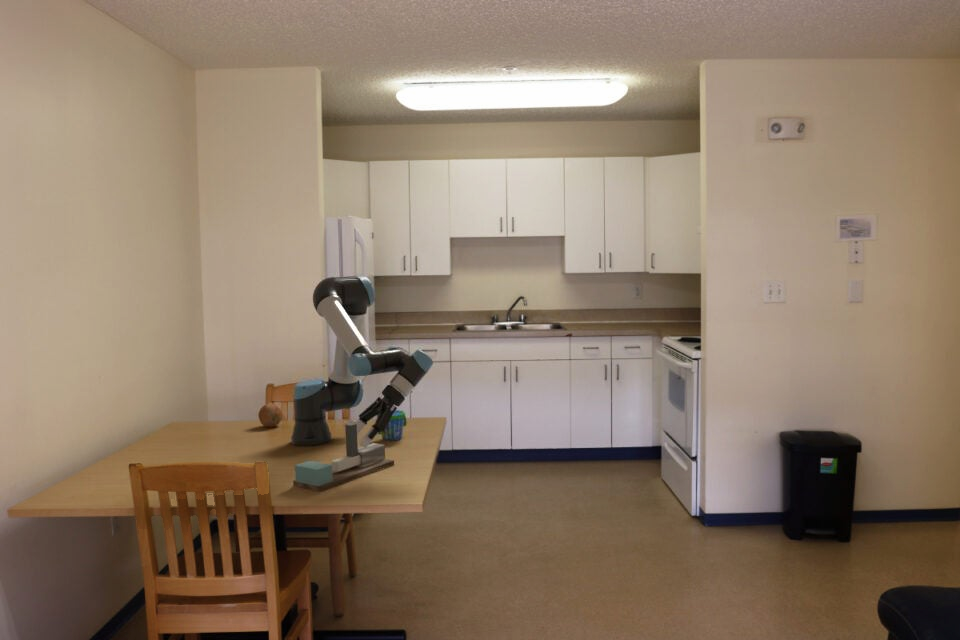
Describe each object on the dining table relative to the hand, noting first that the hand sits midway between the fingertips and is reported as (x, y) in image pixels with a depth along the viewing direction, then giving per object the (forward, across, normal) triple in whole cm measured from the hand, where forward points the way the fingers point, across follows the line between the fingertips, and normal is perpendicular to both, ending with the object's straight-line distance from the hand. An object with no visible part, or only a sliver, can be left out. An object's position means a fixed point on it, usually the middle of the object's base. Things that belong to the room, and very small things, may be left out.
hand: (355, 441), depth 252 cm
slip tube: (+4, +2, -7) cm, 8 cm away
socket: (+17, -8, +5) cm, 20 cm away
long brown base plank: (+10, -1, -4) cm, 11 cm away
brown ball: (+15, +86, +1) cm, 87 cm away
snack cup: (-10, +38, -25) cm, 46 cm away
